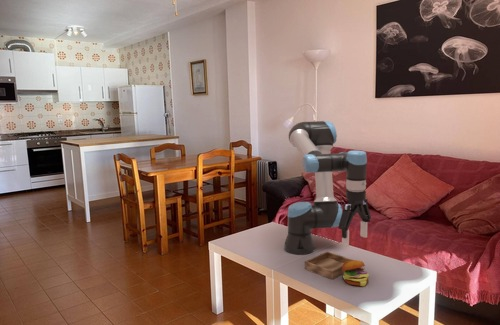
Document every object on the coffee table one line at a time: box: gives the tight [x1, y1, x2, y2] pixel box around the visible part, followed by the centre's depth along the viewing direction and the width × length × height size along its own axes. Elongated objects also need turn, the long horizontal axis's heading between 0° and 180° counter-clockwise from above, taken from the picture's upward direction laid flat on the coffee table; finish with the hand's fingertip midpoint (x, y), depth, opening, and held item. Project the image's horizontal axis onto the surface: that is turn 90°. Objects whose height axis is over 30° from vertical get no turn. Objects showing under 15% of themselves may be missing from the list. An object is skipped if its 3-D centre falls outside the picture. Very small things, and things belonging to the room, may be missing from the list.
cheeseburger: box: [342, 259, 370, 287], centre depth 157 cm, size 10×11×10 cm
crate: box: [304, 251, 353, 280], centre depth 169 cm, size 15×17×3 cm
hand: (354, 241), depth 154 cm, fingers open, 13 cm apart
